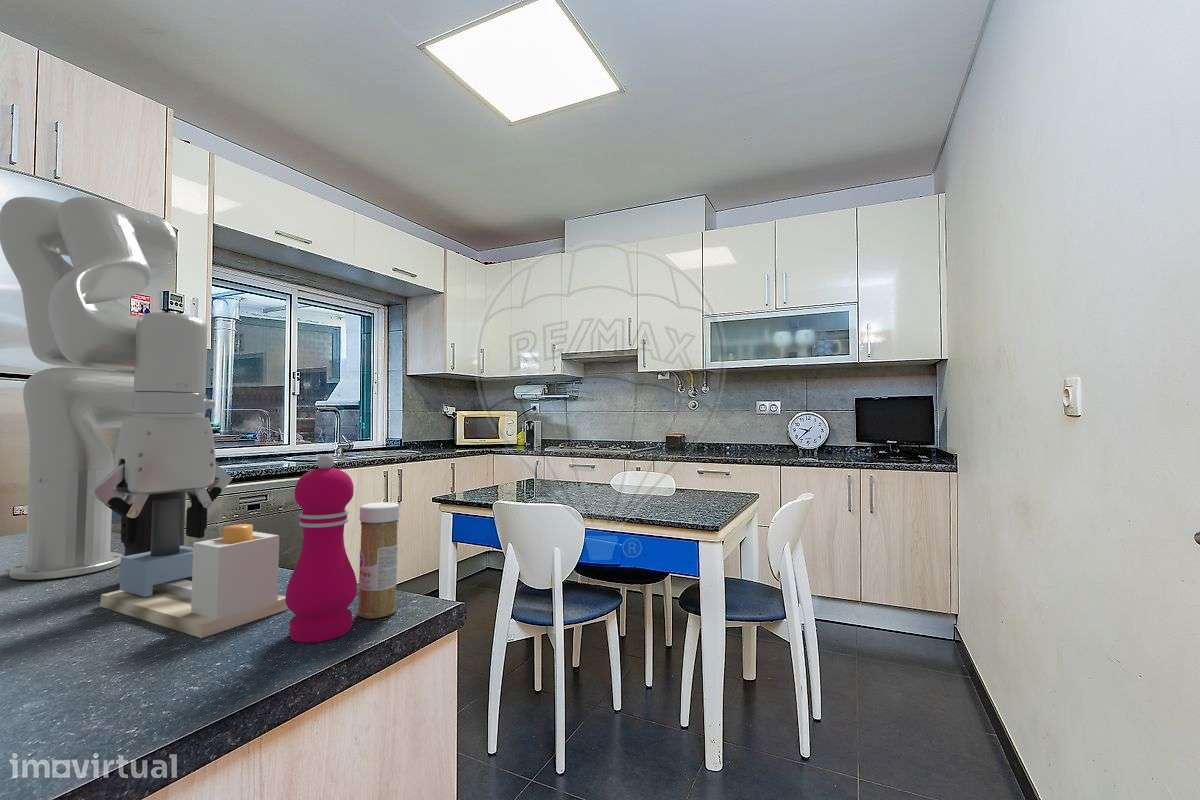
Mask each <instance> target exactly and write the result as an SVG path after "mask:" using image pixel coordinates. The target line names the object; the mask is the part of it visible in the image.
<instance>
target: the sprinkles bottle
mask: <svg viewBox="0 0 1200 800" xmlns="http://www.w3.org/2000/svg"><path fill="white" fill-rule="evenodd" d="M399 518H400V505H399V504H398V503H396V502H391V501H390V502H387V501H386V502H385V501H383V502H382V501H381V502H380V501H379V502H370V503H365V504H363V505H360V507H359V521H360V525H361V526H360V527H361V529H360V532H361V533H360V549H359V572H358V573H359V575H358V590H359V591H358V608H357V611H356V613H357V615H358V616H359V617H360V618H363V619H366V620H368V619H369V620H370V619H371V620H372V619H373V620H374V619H380V618H384V617H386V616H391V615H392V614H394V613H395V612H396V611H397V605H396V599H397V598H396V597H397V594H396V593H397V591H396V590H397V582H398V581H397V580H398V578H397V577H398V575H397V574H398V549H399V548H398V544H399V543H398V523H399ZM392 590H393V591H392Z"/></svg>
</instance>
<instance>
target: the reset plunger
mask: <svg viewBox="0 0 1200 800" xmlns="http://www.w3.org/2000/svg"><path fill="white" fill-rule="evenodd" d="M253 529H254V524H251V523H249V524H248V523H241V524H240V523H239V524H231V525H225V526H223V527H222V537H223V540H222V543H226V544H234V543H240V542H245V541H250V540H253V532H254V530H253Z"/></svg>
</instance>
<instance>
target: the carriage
mask: <svg viewBox="0 0 1200 800" xmlns="http://www.w3.org/2000/svg"><path fill="white" fill-rule="evenodd" d="M180 524H181V499H162V500H155V501H152V526H151V551H150V552H145V553H139V554H134V555H129V556H125V555H124V556H123V555H122V556H123V557H121V563H120V567H119V568H120V572H119V573H120V574H119V577H120V578H119V590H122V591H125V592H129V593H133V594H136V595H140V596H143V597H146V596H150V595H152V590H153V585H156V584H160V583H165V582H169V581H173V580H177V579H185V580H189V581H192V568H193V546H187V545H186V546H185V545H184V546H180Z"/></svg>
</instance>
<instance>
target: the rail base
mask: <svg viewBox="0 0 1200 800" xmlns="http://www.w3.org/2000/svg"><path fill="white" fill-rule="evenodd" d="M285 598H286V595H281V594H278V601H275V602H272V603H269V604H266V605H262V606H259V607H256V608H253V609H250V610H246V611H243V612H240V613H237V614H234V615H230V616H227V617H224V618H221V619H217V620H216V619H212V618H209V617H205V616H202V615H198V614H195V613H191V599H192V581H189V580H185V579H177V580H173V581H169V582H165V583H160V584H156V585H153V590H152V595H150V596H146V597H143V596H140V595H136V594H133V593H129V592H125V591H122V590H120V589H119V590H114V591H110V592H105V593H102V594H100V608H104V609H108V610H111V611H113V612H116V613H121V614H123V615H127V616H130V617H132V618H136V619H139V620H143V621H145V622H149V623H152V624H155V625H159V626H162V627H164V628H167V629H168V628H169V629H172V630H174V631H177V632H181V633H182V634H183V633H184V634H187V635H190V636H192V637H193V636H194V637H196V638H200V639H203V638H206V637H209V636H213V635H216V634H218V633H222V632H225V631H227V630H231V629H234V628H236V627H239V626H242V625H246V624H248V623H251V622H255V621H257V620H261V619H264V618H266V617H269V616H272V615H275V614H279V613H281V612H284V611H287V610H290V609H289V608H288V607H287V605H286V602H285Z"/></svg>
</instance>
